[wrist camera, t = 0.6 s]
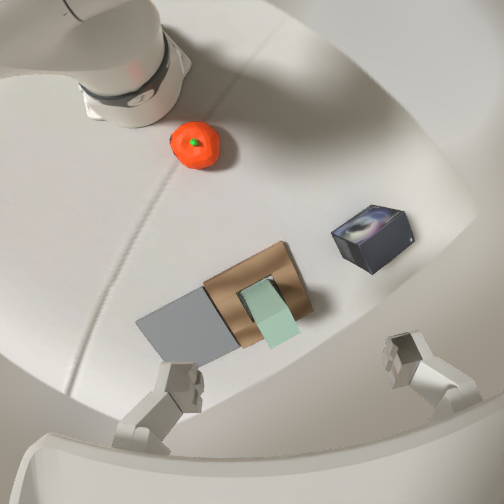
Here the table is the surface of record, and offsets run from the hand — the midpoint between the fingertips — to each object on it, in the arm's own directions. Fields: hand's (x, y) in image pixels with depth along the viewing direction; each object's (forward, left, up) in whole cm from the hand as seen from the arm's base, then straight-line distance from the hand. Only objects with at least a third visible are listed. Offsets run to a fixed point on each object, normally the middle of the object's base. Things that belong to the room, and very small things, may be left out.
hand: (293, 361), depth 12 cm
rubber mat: (+16, -14, -38) cm, 44 cm away
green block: (+16, +1, -38) cm, 41 cm away
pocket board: (+16, +1, -38) cm, 41 cm away
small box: (+14, +23, -38) cm, 47 cm away
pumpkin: (-12, +3, -38) cm, 40 cm away
